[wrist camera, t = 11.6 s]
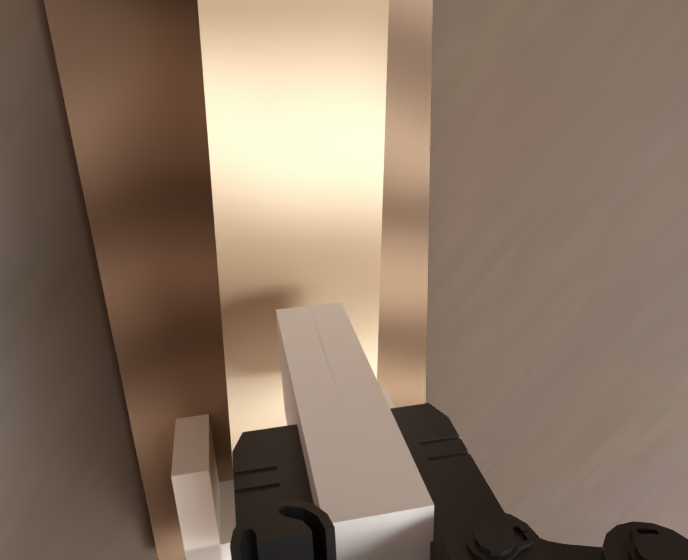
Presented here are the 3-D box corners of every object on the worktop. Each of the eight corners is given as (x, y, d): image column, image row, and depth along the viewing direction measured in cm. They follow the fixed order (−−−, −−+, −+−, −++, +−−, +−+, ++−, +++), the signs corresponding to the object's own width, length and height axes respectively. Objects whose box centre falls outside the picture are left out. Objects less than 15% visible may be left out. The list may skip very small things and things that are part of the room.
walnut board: (415, 497, 36) (423, 516, 34) (161, 541, 33) (159, 563, 32) (424, -329, 21) (438, -352, 20) (-18, -353, 19) (-35, -380, 18)
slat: (317, 444, 31) (368, 647, 21) (235, 454, 30) (248, 668, 20) (311, -124, 22) (396, -243, 12) (192, -130, 21) (177, -262, 11)
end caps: (387, 478, 33) (409, 536, 29) (191, 511, 31) (189, 576, 27) (379, -237, 21) (414, -290, 17) (62, -246, 19) (28, -307, 16)
